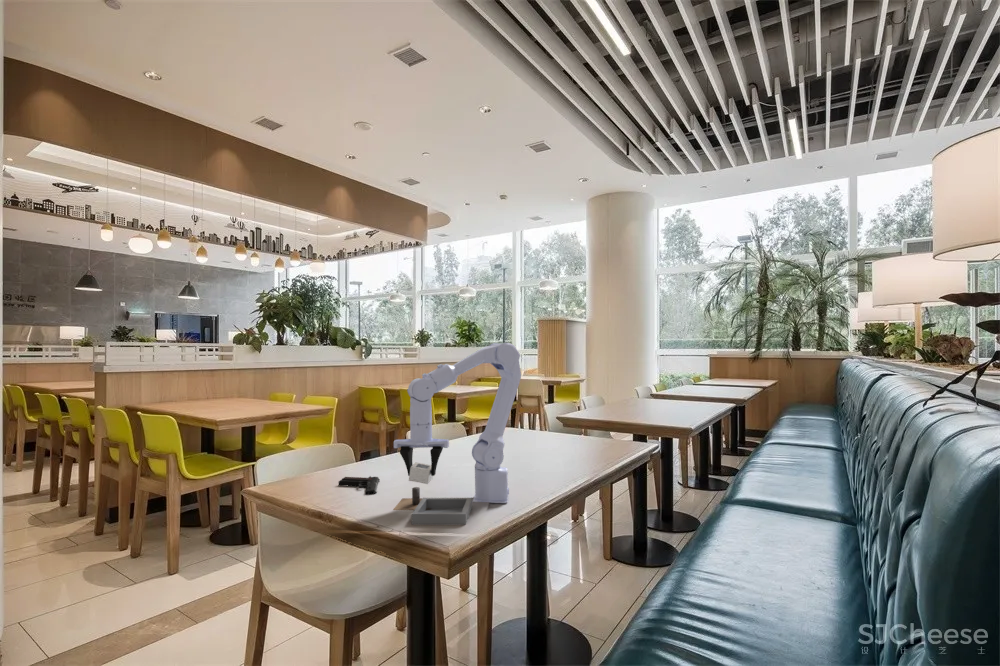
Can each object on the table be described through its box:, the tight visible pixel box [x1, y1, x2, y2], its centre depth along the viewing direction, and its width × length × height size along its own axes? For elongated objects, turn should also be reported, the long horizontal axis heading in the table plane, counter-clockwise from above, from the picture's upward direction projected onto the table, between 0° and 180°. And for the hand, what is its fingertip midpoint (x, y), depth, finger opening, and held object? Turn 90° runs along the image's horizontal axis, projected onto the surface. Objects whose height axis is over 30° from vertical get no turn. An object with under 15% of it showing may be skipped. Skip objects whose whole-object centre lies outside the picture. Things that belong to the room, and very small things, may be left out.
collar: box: [408, 462, 434, 485], centre depth 132 cm, size 5×5×4 cm
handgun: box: [338, 475, 380, 496], centre depth 151 cm, size 2×18×12 cm
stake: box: [392, 486, 431, 511], centre depth 134 cm, size 10×10×5 cm
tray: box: [411, 497, 473, 526], centre depth 124 cm, size 13×13×3 cm
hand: (421, 474), depth 132 cm, fingers closed on collar, 6 cm apart
